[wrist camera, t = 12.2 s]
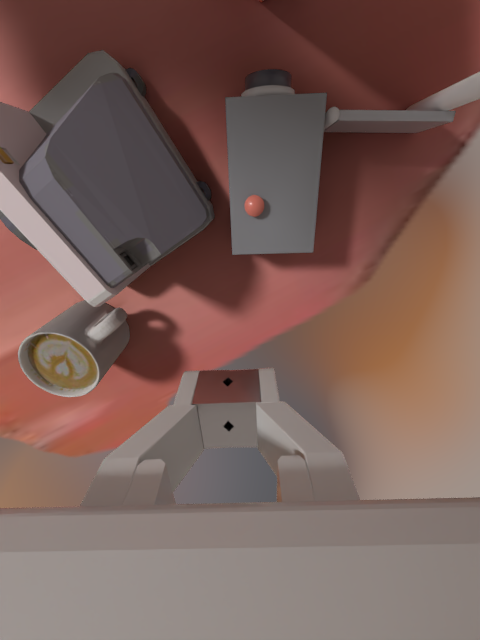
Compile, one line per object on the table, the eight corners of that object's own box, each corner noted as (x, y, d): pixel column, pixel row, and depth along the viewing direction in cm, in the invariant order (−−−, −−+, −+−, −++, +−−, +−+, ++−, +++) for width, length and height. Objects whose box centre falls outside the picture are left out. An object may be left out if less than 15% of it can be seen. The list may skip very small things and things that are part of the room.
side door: (311, 134, 31) (345, 106, 20) (314, 103, 30) (352, 57, 19) (415, 135, 31) (504, 108, 20) (422, 104, 30) (521, 58, 19)
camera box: (228, 93, 30) (223, 64, 23) (312, 89, 29) (334, 58, 22) (234, 243, 37) (231, 256, 30) (302, 241, 36) (316, 254, 29)
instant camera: (-3, 136, 32) (-184, 99, 19) (147, 41, 28) (56, -94, 15) (104, 292, 40) (33, 345, 27) (231, 235, 36) (222, 264, 23)
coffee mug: (93, 363, 46) (56, 406, 37) (52, 315, 42) (-1, 349, 33) (160, 334, 43) (137, 373, 34) (123, 280, 39) (86, 307, 30)
